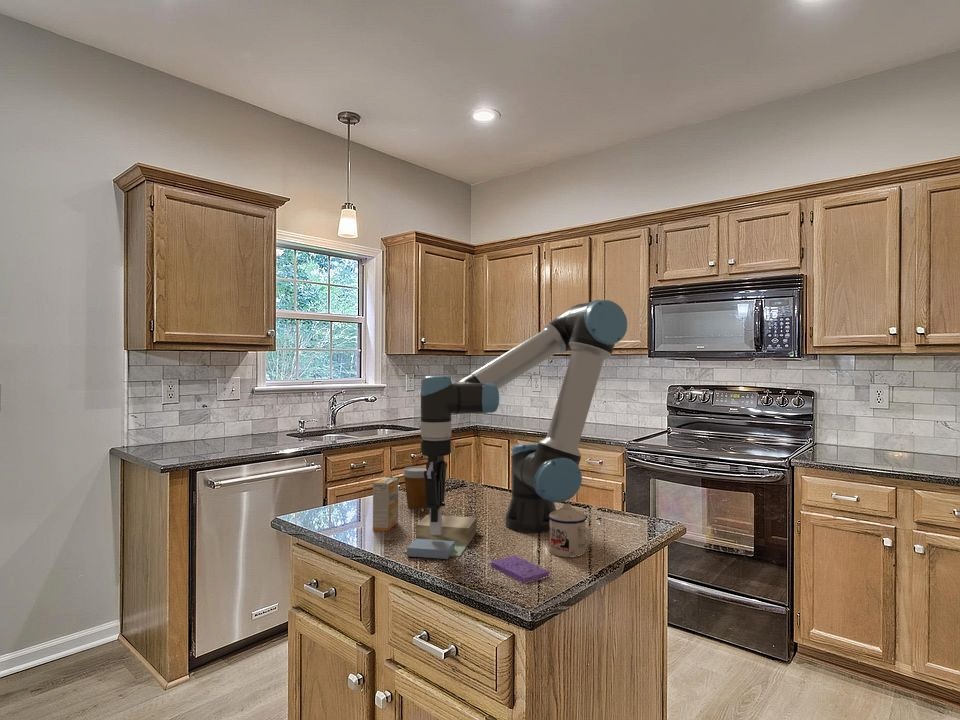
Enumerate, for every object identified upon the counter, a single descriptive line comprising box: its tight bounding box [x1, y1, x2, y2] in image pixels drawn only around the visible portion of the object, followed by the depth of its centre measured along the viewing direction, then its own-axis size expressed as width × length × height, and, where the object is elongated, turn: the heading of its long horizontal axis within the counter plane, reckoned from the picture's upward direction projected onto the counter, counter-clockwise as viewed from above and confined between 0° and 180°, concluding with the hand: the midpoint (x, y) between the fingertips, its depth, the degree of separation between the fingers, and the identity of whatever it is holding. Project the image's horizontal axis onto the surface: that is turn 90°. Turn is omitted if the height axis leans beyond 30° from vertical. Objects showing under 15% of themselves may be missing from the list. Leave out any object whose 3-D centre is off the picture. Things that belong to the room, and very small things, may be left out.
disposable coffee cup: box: [402, 465, 427, 510], centre depth 184 cm, size 10×10×12 cm
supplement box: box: [372, 477, 399, 532], centre depth 162 cm, size 8×5×13 cm, turn 168°
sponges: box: [490, 554, 550, 584], centre depth 128 cm, size 7×13×2 cm, turn 34°
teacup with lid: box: [549, 503, 593, 558], centre depth 140 cm, size 12×9×12 cm
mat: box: [403, 542, 470, 558], centre depth 143 cm, size 14×10×1 cm
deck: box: [415, 514, 478, 544], centre depth 153 cm, size 14×10×4 cm
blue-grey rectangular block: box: [406, 538, 455, 560], centre depth 139 cm, size 10×7×2 cm
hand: (435, 533), depth 142 cm, fingers closed
